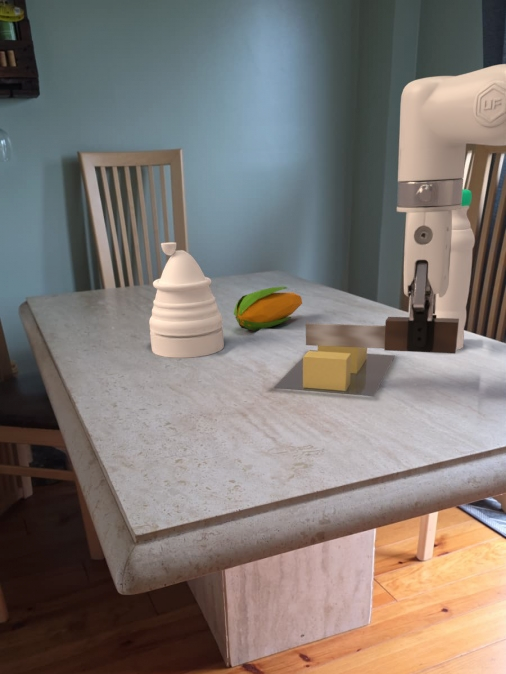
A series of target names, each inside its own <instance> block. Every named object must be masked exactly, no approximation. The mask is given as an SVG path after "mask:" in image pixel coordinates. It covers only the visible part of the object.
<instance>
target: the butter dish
mask: <svg viewBox="0 0 506 674" xmlns="http://www.w3.org/2000/svg"><path fill="white" fill-rule="evenodd" d="M309 351H317V350H315V349H314V350H313V349H310V350H309ZM395 357H396V355H394V354H381V353H380V354H379V353H367V359H366V360H365V362H364V364H363V365H362V367H361V368H360V370H359V371H358V373H357V374H355V373H350V385H349V387H348V388H347V390H346V391H337V390H325V389H313V388H303V357H302V358H301V359H300V360H299V361H298V362H297V363H296V364H295V365H294V366H293V367H292V368H291V369H290V370H289V371H288V372H287V373H286V374H285V375H284V376H283V377H282V379H280V380H279V381H278V382H277V383H276V384H275V386H273V389H280V390H292V391H293V390H294V391H305V392H317V393H327V394H328V393H330V394H340V395H353V396H364V397H375V396H376V394H377V393H378V390H379V388H380V386H381V385H382V382H383V380H384V378H385V376H386V374H387V372H388V370H389V368H390V366H391V365H392V363H393V361H394V358H395Z"/></svg>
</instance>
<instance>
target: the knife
mask: <svg viewBox="0 0 506 674" xmlns="http://www.w3.org/2000/svg"><path fill="white" fill-rule="evenodd" d="M408 320H409V316H387V318H386V319H385V325H374V324H372V325H371V324H342V323H340V324H339V323H307V322H306V323H305V345H306V346H315V347H318V346H337V347H360V348H367V349H384V351H385V352H386V351H387V352H388V351H389V352H390V351H392V352H410V353H411V352H412V351H408V350H407V334H408ZM432 320H434V336H433V349H432V351H431V352H430V353H433V354H456V352H457V350H456V347H457V336H458V325H459V319H455V318H432Z"/></svg>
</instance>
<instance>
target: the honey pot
mask: <svg viewBox="0 0 506 674" xmlns="http://www.w3.org/2000/svg"><path fill="white" fill-rule="evenodd" d="M160 247H161V250H162V252H163V253H164V254H165V255H166V256H170V257H169V258H168V260H167V261H166V263H165V265H164V268H163V270H162V273H161V276H160V278H157V279H155V280H154V281H153V282H152V286H153V288H154V289H156V292H155V293H156V294H155V298H154V299H153V301H152V305H153V306H152V309H151V316H150V318H149V321H148V324H149V330H150V332H149V336H150V345H151V352H152V353H153V354H155V355H156V356H160V357H163V358H164V357H165V358H172V359H174V358H176V359H189V358H200V357H205V356H210V355H213V354H215V353H219V352H220V351H222V349H224V347H225V340H224V328H223V316H222V313H220V312H219V306H218V305H217V303H216V297H215V296H214V295H213V291H212V290H211V287H210V285H211V284H212V279H211V278H210V277H207V276H205V273H204V272H203V270H202V269H201V267H200V265H199V263H198V262H197V261H196V259H195V258H194V257H193V256H192V255H191V254H190V253H189V252H187V251H185V250H184V249H179V250H177V242H174V241H173V242H172V241H171V242H161V243H160Z"/></svg>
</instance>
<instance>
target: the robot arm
mask: <svg viewBox="0 0 506 674" xmlns="http://www.w3.org/2000/svg"><path fill="white" fill-rule="evenodd" d="M399 109H400V110H399V112H400V113H399V137H398V139H399V141H398V164H397V167H398V169H397V192H396V193H397V195H396V212H397V213H405V225H404V227H405V228H404V249H403V294H404V295H405V296H406V297H408V298H409V300H410V302H409V316H408V317H409V320H408V334H407V350H408V351H407V352H409V351H412V352H413V353H431V351H432V349H433V336H434V320H432V318H436V316H437V315H433V314H435V309H436V294H439V297H443V296H444V295H445V294H446V292H447V289H448V286H449V269H450V254H451V238H452V210H457V209H461V205H462V204H461V203H462V191H463V189H464V176H465V164H466V153H467V152H466V150H467V144H469V145H483V146H491V147H492V146H493V147H503V146H504V147H506V63H502V64H501V63H500V64H495V65H491V66H488V67H484V68H480V69H478V70H474V71H471V72H467V73H463V74H459V75H437V76H427V77H423V78H418V79H415V80H412V81H410V82H408V83H407V84H406V85H405V86H404V88H403V90H402V93H401V95H400V108H399Z"/></svg>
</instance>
